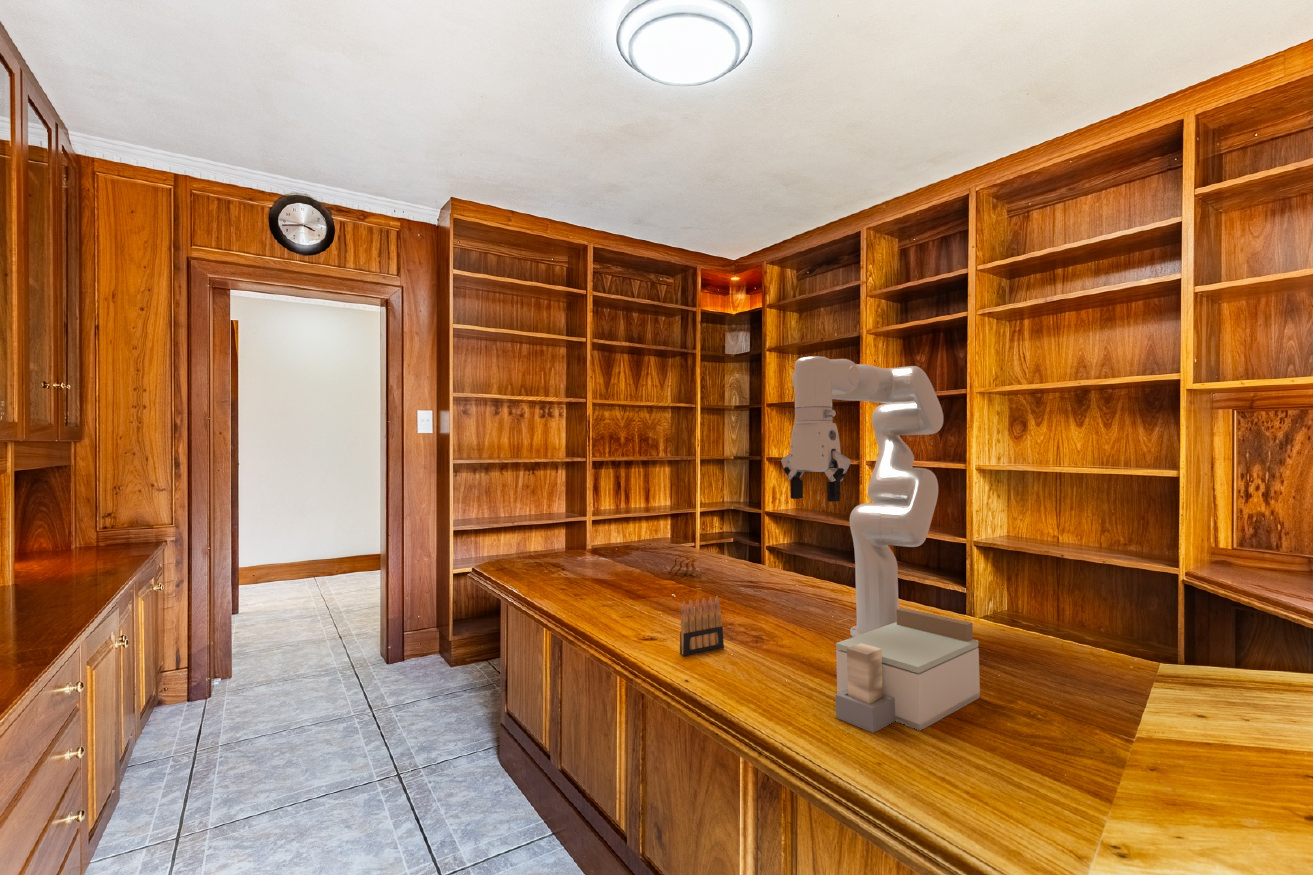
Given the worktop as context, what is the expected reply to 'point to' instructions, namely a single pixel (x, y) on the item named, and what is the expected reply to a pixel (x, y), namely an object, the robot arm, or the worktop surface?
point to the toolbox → (911, 693)
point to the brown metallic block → (864, 673)
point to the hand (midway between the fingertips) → (814, 499)
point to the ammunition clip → (701, 628)
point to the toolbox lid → (917, 640)
